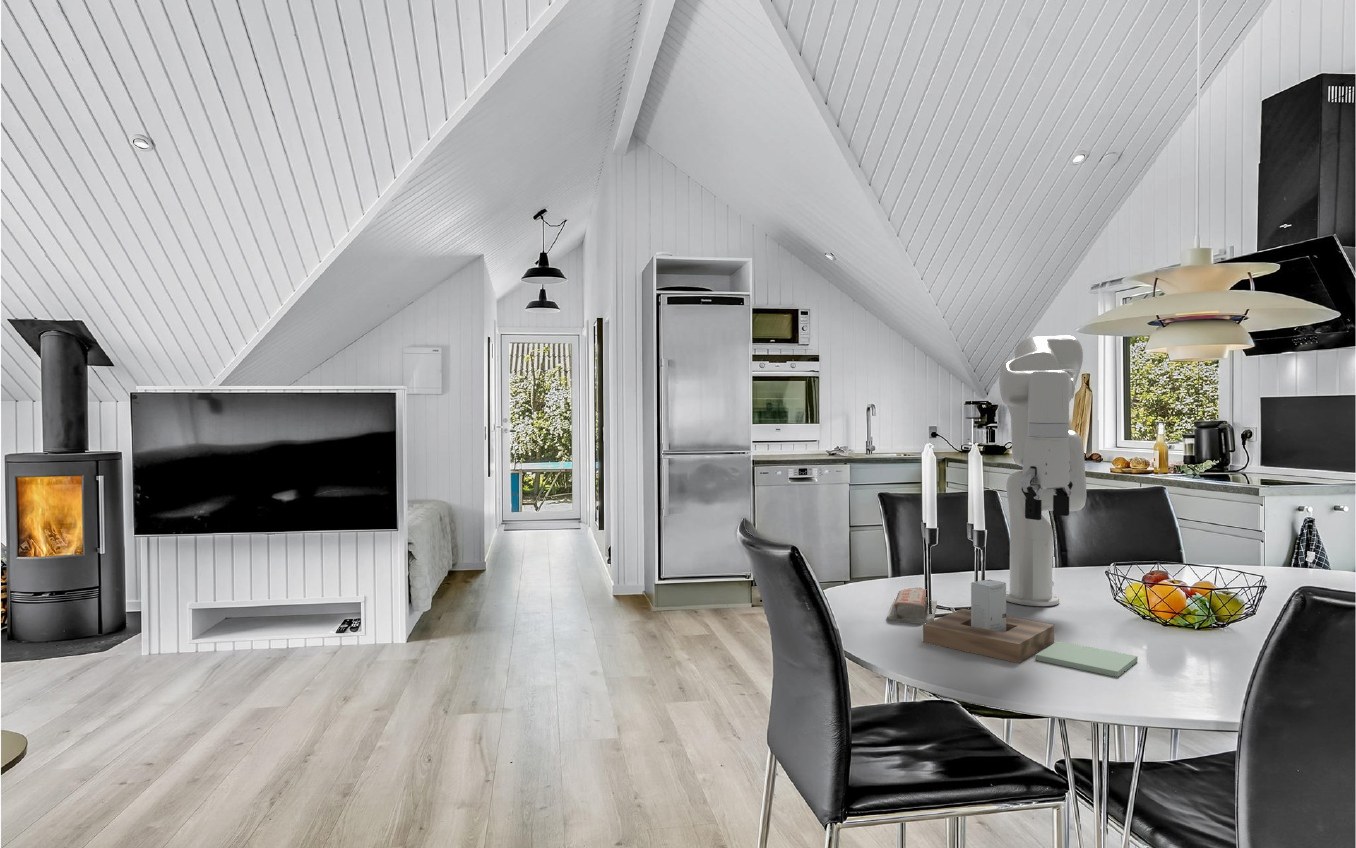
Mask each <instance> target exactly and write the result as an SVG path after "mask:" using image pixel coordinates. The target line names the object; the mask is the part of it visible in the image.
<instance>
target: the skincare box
mask: <svg viewBox="0 0 1356 848" xmlns="http://www.w3.org/2000/svg"><path fill="white" fill-rule="evenodd" d="M1006 591H1007V583H1006V582H1005V581H999V580H994V579H985V580H978V581H972V582H971V583H970V597H971V598H970V607H971V608H970V610H971V627H977V628H982V629H987V630H992V631H997V632H1002V633H1005V632H1006V616H1007V601H1006Z"/></svg>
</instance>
